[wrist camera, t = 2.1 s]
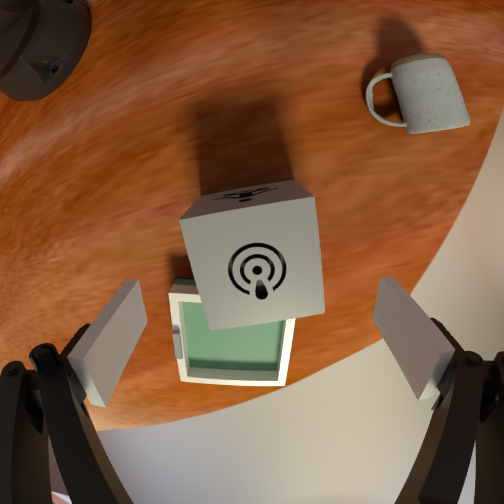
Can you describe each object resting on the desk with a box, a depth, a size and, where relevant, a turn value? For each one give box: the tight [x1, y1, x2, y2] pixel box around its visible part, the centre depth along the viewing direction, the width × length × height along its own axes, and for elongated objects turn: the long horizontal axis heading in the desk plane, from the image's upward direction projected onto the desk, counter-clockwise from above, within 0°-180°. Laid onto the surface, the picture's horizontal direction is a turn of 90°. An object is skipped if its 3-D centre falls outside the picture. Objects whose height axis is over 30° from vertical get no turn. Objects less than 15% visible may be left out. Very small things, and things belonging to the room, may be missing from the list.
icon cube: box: [179, 179, 325, 330], centre depth 27 cm, size 10×10×10 cm
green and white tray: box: [169, 284, 295, 386], centre depth 34 cm, size 14×14×3 cm
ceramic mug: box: [365, 53, 470, 134], centre depth 22 cm, size 11×8×8 cm
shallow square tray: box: [173, 279, 283, 371], centre depth 36 cm, size 14×14×2 cm
